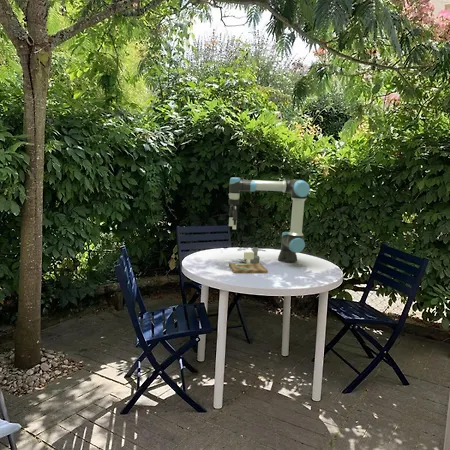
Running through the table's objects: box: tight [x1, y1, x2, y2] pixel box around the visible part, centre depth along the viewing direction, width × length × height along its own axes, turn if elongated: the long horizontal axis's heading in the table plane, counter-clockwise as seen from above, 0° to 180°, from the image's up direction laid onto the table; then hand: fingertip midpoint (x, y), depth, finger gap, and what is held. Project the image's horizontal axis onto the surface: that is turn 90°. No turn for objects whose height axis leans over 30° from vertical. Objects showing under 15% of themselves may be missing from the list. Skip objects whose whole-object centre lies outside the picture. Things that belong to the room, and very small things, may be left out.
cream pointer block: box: [235, 251, 254, 266], centre depth 301 cm, size 13×3×10 cm, turn 100°
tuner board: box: [228, 262, 268, 274], centre depth 300 cm, size 24×19×2 cm
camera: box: [238, 246, 261, 263], centre depth 318 cm, size 9×12×15 cm
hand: (232, 227), depth 307 cm, fingers open, 13 cm apart
